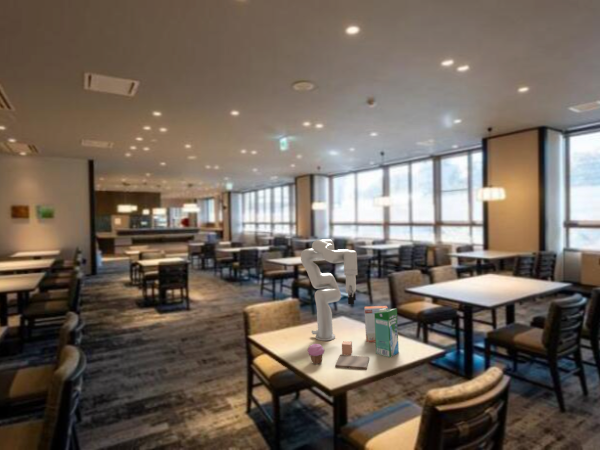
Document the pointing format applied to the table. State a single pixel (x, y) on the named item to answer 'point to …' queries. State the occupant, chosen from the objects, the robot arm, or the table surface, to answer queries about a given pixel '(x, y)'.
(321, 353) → the cupcake
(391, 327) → the milk carton
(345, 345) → the terracotta block
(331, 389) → the table surface
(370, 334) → the cracker box
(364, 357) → the serving board
